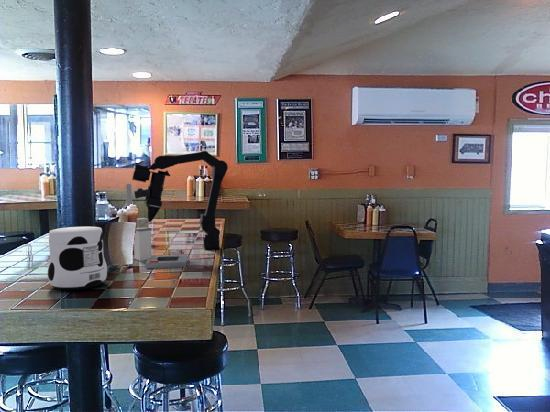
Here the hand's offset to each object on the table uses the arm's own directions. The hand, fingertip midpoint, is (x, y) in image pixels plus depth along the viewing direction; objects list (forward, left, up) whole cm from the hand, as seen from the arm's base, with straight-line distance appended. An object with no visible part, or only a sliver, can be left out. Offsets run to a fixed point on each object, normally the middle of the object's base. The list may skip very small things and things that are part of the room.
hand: (149, 220), depth 208 cm
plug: (+1, +14, -14) cm, 20 cm away
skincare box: (+8, -23, -14) cm, 28 cm away
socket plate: (-10, +25, -14) cm, 30 cm away
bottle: (+16, -39, -14) cm, 44 cm away
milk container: (+14, +55, -14) cm, 58 cm away
